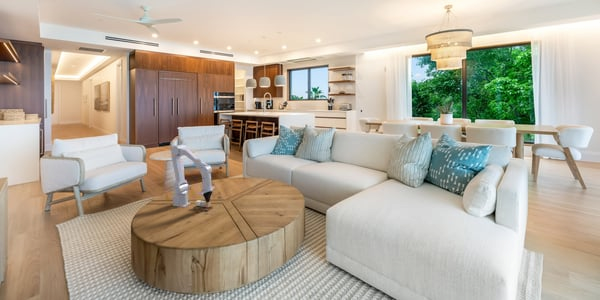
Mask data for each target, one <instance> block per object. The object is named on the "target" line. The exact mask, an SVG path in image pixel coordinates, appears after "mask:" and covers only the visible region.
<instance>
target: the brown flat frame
mask: <svg viewBox="0 0 600 300" xmlns="http://www.w3.org/2000/svg"><path fill="white" fill-rule="evenodd" d="M213 209H214V205H211V206H210V207H205V206H204V207H202V206H196V205H195V206H193V210H197V211H203V212H209V211H211V210H213Z"/></svg>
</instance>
